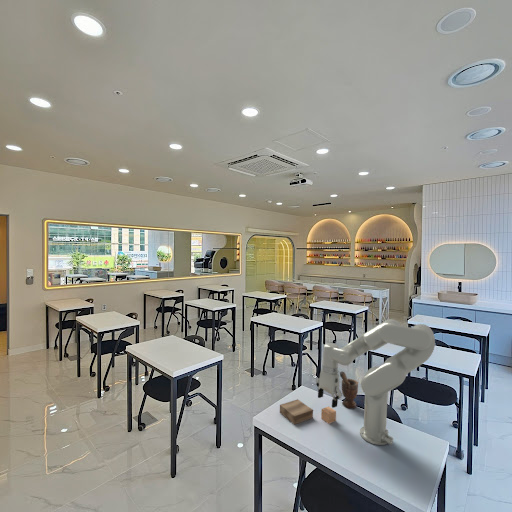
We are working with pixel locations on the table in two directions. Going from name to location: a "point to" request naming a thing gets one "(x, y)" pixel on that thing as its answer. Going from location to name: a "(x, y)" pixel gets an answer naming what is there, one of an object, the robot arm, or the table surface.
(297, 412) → the walnut base
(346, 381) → the mortar and pestle
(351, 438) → the table surface
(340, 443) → the table surface
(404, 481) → the table surface
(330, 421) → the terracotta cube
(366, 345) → the robot arm
